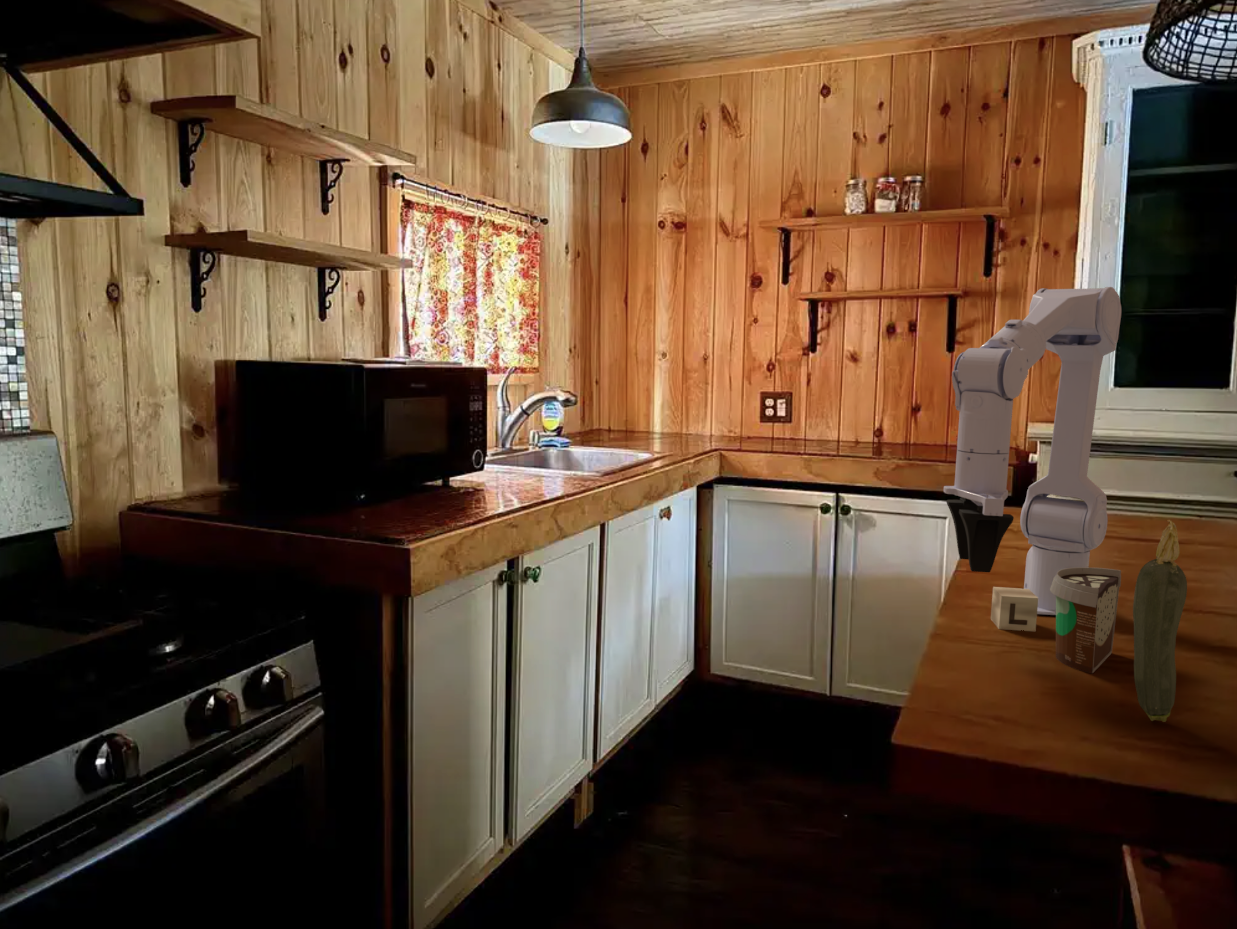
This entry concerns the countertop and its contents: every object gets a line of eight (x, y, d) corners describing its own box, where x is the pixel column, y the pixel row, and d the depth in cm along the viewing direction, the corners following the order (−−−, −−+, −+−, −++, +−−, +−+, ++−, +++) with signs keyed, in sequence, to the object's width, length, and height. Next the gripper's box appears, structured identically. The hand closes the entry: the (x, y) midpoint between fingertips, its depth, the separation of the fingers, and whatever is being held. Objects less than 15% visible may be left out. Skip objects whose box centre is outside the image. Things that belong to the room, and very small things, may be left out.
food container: (1060, 639, 118) (1067, 561, 116) (1114, 650, 114) (1122, 569, 112) (1031, 664, 108) (1038, 579, 107) (1089, 676, 104) (1097, 589, 103)
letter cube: (990, 619, 126) (993, 586, 125) (1025, 621, 125) (1028, 588, 124) (999, 630, 121) (1001, 596, 120) (1035, 632, 120) (1038, 598, 120)
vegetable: (1159, 734, 89) (1180, 527, 86) (1113, 718, 93) (1132, 519, 90) (1181, 723, 92) (1202, 522, 89) (1135, 709, 95) (1154, 515, 93)
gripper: (936, 443, 117) (928, 549, 119) (959, 457, 103) (951, 578, 105) (995, 445, 116) (987, 552, 118) (1027, 460, 102) (1017, 581, 104)
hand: (974, 565), depth 111 cm, fingers open, 6 cm apart
